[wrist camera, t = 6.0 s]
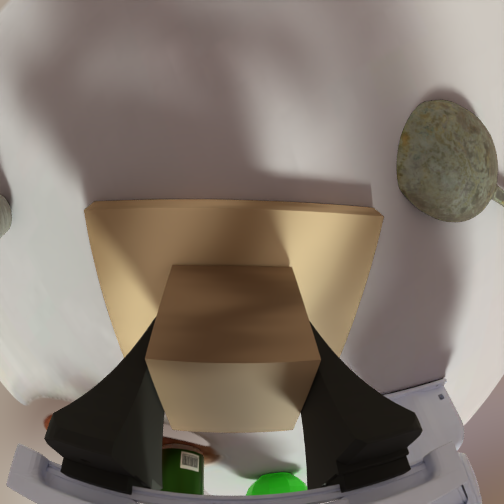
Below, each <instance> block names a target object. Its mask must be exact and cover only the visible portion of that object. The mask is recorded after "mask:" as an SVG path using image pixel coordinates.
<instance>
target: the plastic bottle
mask: <svg viewBox="0 0 504 504" xmlns="http://www.w3.org/2000/svg"><path fill="white" fill-rule="evenodd" d="M304 490H307V486H306V485H305V483H304V482H302V481H301V480H300V479H299V478H297V477H295V476H293V475H292V474H290V473H287V472H279V473H270V474H266V475H262V476H261V477H259V479H258V480H257V481H256V482H255V483H254V484H252V485H251V486H250V488H249V489H248V491H247V494H246V496H249V495H268V494H280V493H289V492H297V491H304Z"/></svg>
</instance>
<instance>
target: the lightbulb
mask: <svg viewBox="0 0 504 504" xmlns="http://www.w3.org/2000/svg"><path fill="white" fill-rule="evenodd" d="M11 221H12V214H11V209H10V206H9V204H8V202H7V200H6V199H5V198H4V197H3V196H2V195H0V238H1V237H2V236H3V235H4V234H5V233H6V232H7V231H8V230H9V228H10V226H11Z"/></svg>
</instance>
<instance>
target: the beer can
mask: <svg viewBox="0 0 504 504" xmlns="http://www.w3.org/2000/svg"><path fill="white" fill-rule="evenodd" d="M162 486H163V488H162V489H161V490H160V491H166V492H174V493H183V494H195V495H204V491H203V490H204V456H203V454H202V452H201V450H199V449H198V448H195V447H192V446H189V445H183V444H166V445H164V446H163V447H162Z"/></svg>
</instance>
